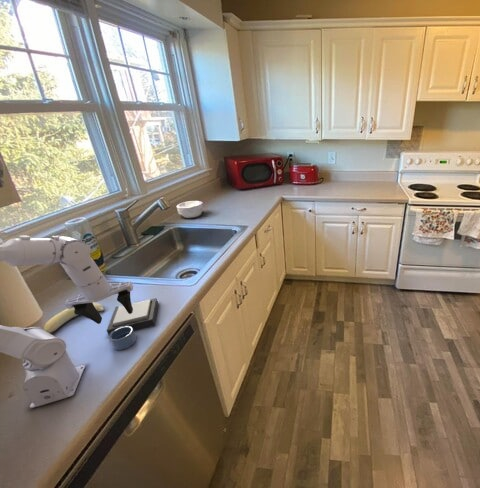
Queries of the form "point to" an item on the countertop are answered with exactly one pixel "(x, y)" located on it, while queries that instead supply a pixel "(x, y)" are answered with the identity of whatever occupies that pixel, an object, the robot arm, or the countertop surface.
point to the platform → (138, 313)
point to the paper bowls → (190, 209)
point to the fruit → (64, 318)
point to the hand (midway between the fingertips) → (115, 316)
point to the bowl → (122, 337)
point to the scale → (140, 323)
